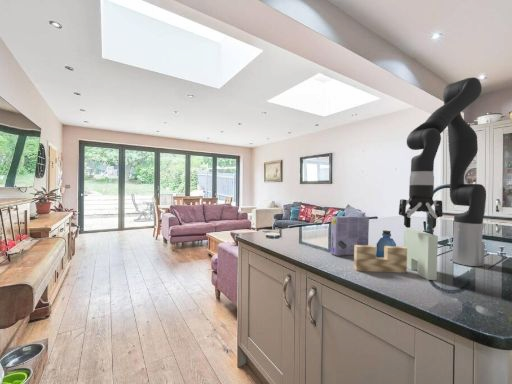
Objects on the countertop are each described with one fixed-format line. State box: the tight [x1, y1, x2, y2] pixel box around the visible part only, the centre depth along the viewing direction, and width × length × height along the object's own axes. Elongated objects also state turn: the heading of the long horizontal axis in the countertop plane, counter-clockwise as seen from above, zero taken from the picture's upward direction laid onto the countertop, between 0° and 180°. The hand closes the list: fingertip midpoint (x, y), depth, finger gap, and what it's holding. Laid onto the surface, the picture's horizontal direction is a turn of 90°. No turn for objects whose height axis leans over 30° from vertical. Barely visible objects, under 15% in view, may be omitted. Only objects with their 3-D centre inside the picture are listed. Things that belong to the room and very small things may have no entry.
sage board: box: [403, 227, 439, 281], centre depth 93 cm, size 3×16×15 cm, turn 176°
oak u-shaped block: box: [353, 244, 408, 274], centre depth 95 cm, size 18×3×9 cm, turn 86°
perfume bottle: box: [376, 230, 397, 258], centre depth 112 cm, size 6×6×12 cm
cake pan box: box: [330, 215, 370, 257], centre depth 118 cm, size 19×5×18 cm, turn 108°
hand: (419, 227), depth 93 cm, fingers open, 8 cm apart
